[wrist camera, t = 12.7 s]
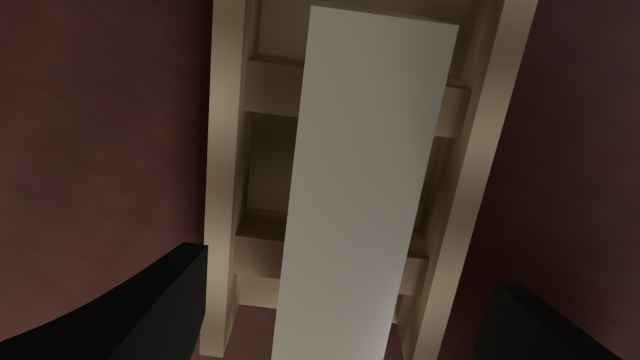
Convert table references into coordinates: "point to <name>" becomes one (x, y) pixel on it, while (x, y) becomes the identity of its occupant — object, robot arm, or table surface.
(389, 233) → the grayish beige rectangular block
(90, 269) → the table surface
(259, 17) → the wooden compartment tray
